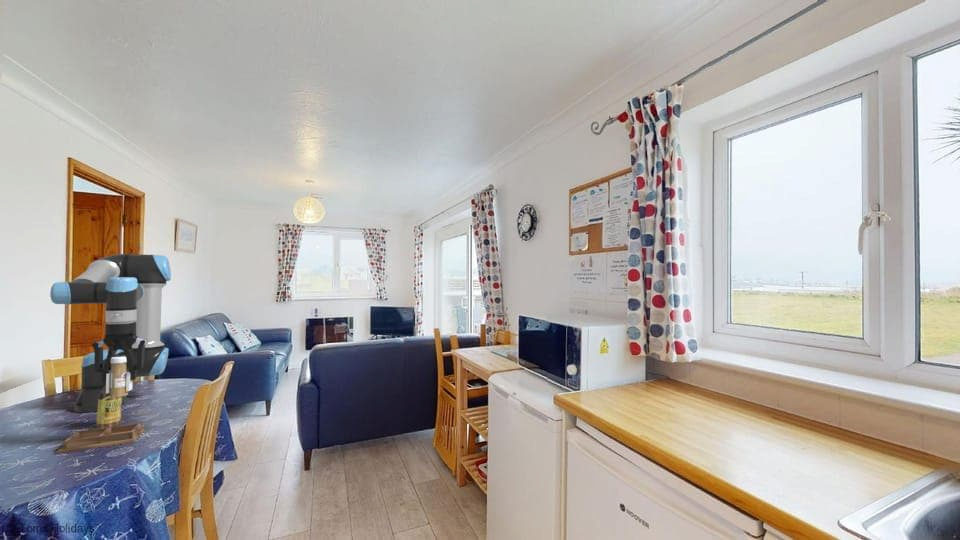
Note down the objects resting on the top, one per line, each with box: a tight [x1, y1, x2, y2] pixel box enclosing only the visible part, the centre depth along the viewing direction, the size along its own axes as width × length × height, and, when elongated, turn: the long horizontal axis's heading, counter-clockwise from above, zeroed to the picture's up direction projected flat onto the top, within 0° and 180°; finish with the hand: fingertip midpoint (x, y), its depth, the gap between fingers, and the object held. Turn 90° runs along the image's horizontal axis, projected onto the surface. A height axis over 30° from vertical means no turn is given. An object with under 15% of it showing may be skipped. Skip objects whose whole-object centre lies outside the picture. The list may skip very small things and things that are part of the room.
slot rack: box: [55, 422, 148, 455], centre depth 120 cm, size 12×18×3 cm, turn 117°
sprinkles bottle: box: [110, 355, 129, 398], centre depth 122 cm, size 5×5×14 cm
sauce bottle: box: [96, 371, 123, 429], centre depth 132 cm, size 6×6×20 cm
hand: (119, 390), depth 122 cm, fingers closed on sprinkles bottle, 4 cm apart
